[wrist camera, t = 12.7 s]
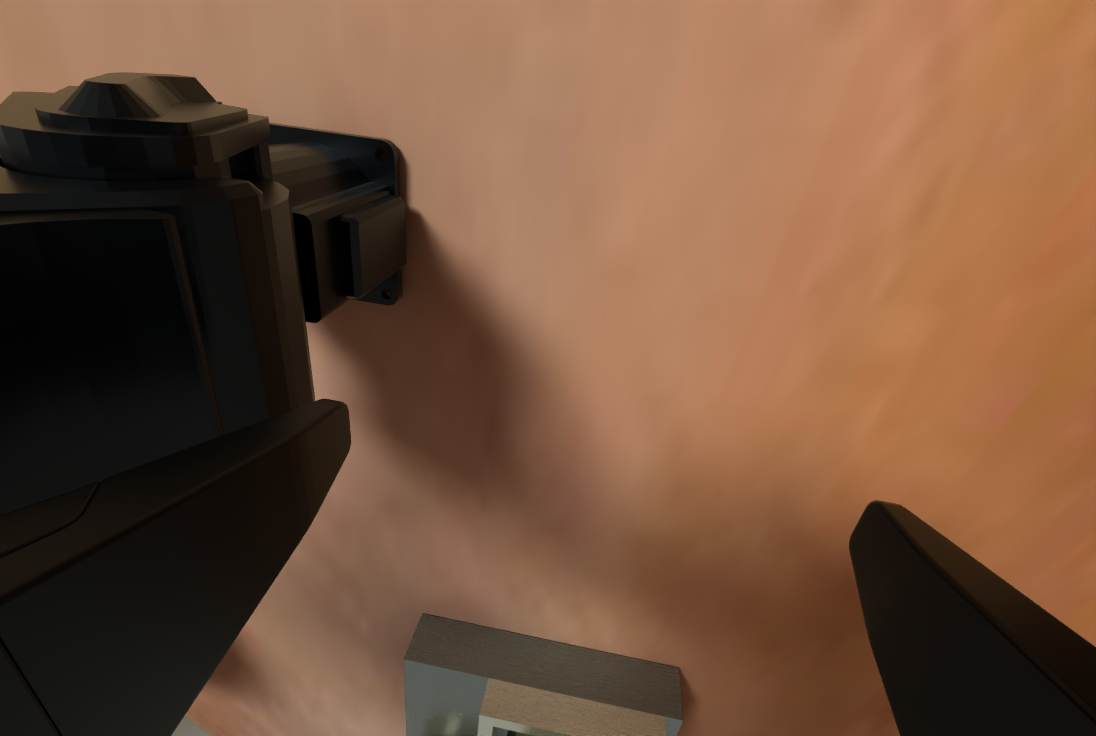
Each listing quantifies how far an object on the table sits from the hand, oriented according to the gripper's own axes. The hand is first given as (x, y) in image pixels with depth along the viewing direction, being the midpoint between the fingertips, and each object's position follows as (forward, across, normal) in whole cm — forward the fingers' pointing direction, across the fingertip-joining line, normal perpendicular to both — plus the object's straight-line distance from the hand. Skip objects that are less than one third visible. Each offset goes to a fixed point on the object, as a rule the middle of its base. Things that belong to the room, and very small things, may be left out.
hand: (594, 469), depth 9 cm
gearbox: (+13, 0, +31) cm, 34 cm away
